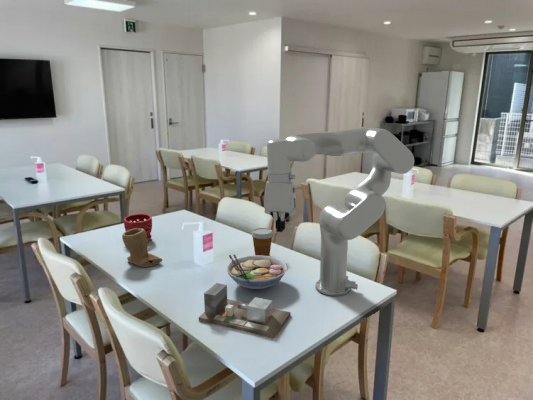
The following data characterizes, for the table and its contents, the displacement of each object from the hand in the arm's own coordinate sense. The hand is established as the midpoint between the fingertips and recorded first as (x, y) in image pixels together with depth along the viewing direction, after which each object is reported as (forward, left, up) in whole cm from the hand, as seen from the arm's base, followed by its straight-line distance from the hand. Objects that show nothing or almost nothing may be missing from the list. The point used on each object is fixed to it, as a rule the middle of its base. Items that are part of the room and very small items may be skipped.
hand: (280, 230), depth 138 cm
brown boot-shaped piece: (+66, -6, -25) cm, 71 cm away
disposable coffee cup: (+21, -32, -25) cm, 46 cm away
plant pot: (+85, -28, -25) cm, 93 cm away
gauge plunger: (+3, +17, -24) cm, 29 cm away
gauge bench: (+6, +17, -25) cm, 31 cm away
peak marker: (+10, +20, -24) cm, 33 cm away
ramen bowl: (+12, -6, -25) cm, 29 cm away
